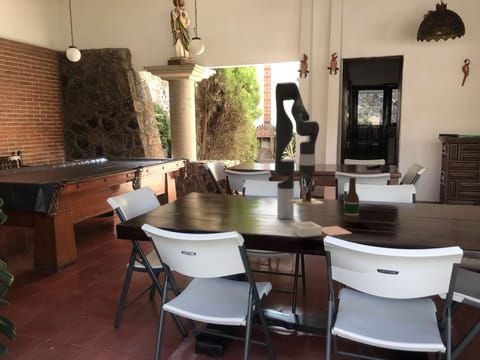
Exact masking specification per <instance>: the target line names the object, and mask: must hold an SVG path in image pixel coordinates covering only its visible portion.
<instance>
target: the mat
mask: <svg viewBox="0 0 480 360" xmlns="http://www.w3.org/2000/svg"><path fill="white" fill-rule="evenodd" d="M321 227H322V228H321V233H325V234H326V235H329V236H340V235H347V234H348V235H350V234H352V232H351V231H348V230H347V229H344V228H342V227H340V226H338V225H335V226H324V227H323V226H321Z"/></svg>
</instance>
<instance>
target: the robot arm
mask: <svg viewBox="0 0 480 360" xmlns="http://www.w3.org/2000/svg"><path fill="white" fill-rule="evenodd" d="M274 92H275V107H276V109H275V112H276V117H275V118H276V119H275V121H276V122H275V158H274V160H275V161H274V173H275V175H276V176H277V177H287V178H286V179H284V180H282V181H279V182H277V187H276V189H277V191H276V192H277V194H276V195H277V198H276V199H277V211H276V213H277V214H276V215H277V219H280V220H292V219H294V217H295V216H294V215H295V213H294V212H295V207H294V206H295V203H293V202H290V200H293V199H294V198H295V161H294V160H293V159H287V158H286V159H282V158H283V154H284V152H285V150H286V149H287V147H288V146H289V144H290V142H291V141H292V140H293V137H294V124H293V121H292V119H291V117H290V116H289V115H288V113H287V111H286V109H285V106H284V105H285V104H284V101H293V103H292V105H291V108H290V109H291V110H290V113H291V116H292V118H293V119H294V122H295V131H296V134H297V135H298V136H300V137H308V139H307V140H303V141H301V142H300V144H299V159H298V174H299V175H301V177H299V176H298V182H299V183H298V185H299V189H300V190H302V188H306V200H307V201H310V200H311V198H312V193H314V192H315V188H316V183H317V182H316V180H314V177H313V175H315V174H316V144H317V140H318V135H319V132H320V124H319V123H318V121H316V120H310V114H309V113H308V110H307V109H306V107H305V105H304V102H303V100H302V95H301V93H300V90H299V87H298V84H297V83H296V82H295V81H285V82H284V81H282V82H277V84H276V85H275V91H274Z"/></svg>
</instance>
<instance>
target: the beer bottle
mask: <svg viewBox="0 0 480 360" xmlns="http://www.w3.org/2000/svg"><path fill="white" fill-rule="evenodd" d="M348 180H349V182H348V192H347V193H346V196H345V198H344V215H343V216H344V217H343V221H344V222H347V223H352V224H353V223H358V222H359V214H360V213H359V212H360V211H359V210H360V209H359V208H360V198H359V195H358V193H357V190H356V186H357V184H356V181H357V177H352V176H351V177H349V179H348Z"/></svg>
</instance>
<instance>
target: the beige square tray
mask: <svg viewBox="0 0 480 360" xmlns="http://www.w3.org/2000/svg"><path fill="white" fill-rule="evenodd" d="M322 227H323V226H321V225H319V224H317V223H315V222H312V221H302V222H293V223H292V222H291V233H293V234H295V235H296V236H297V237H300V238H309V237H318V236H322V231H321V228H322Z"/></svg>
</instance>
